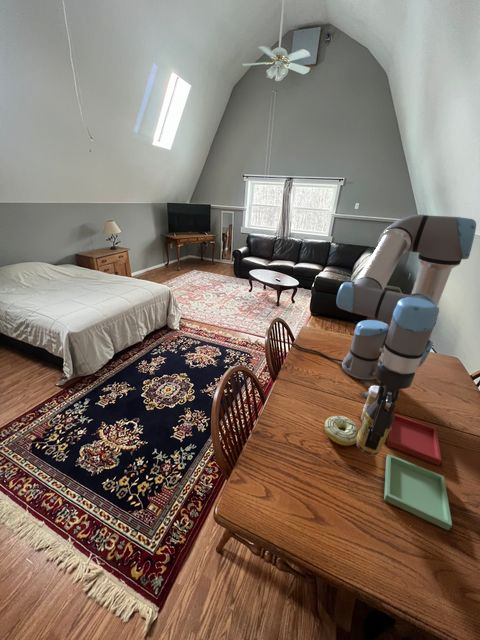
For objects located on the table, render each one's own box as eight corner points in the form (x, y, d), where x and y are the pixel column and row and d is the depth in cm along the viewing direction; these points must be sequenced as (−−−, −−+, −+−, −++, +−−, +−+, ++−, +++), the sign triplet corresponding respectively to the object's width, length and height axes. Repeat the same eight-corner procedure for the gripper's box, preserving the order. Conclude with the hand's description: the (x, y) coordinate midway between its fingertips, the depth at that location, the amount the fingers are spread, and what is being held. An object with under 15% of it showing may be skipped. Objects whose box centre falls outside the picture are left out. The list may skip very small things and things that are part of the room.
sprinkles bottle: (358, 420, 91) (368, 389, 85) (362, 413, 94) (372, 382, 89) (372, 428, 89) (383, 396, 83) (376, 420, 92) (387, 389, 86)
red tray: (386, 445, 83) (388, 440, 82) (388, 416, 94) (389, 412, 93) (439, 465, 77) (441, 460, 76) (434, 432, 88) (436, 428, 87)
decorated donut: (363, 434, 86) (366, 425, 84) (350, 455, 79) (353, 446, 77) (332, 416, 92) (335, 408, 91) (318, 434, 85) (320, 426, 83)
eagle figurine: (369, 381, 110) (354, 383, 105) (383, 374, 104) (368, 375, 100) (378, 399, 106) (363, 402, 101) (393, 393, 101) (378, 395, 96)
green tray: (383, 500, 67) (386, 495, 66) (386, 458, 78) (388, 453, 77) (448, 530, 62) (452, 525, 61) (441, 481, 73) (444, 476, 72)
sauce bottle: (350, 441, 74) (367, 384, 65) (366, 435, 76) (386, 379, 68) (368, 461, 69) (390, 402, 60) (386, 453, 71) (409, 395, 62)
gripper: (381, 342, 70) (360, 408, 80) (375, 383, 55) (351, 459, 65) (414, 350, 67) (388, 418, 77) (418, 396, 51) (385, 474, 62)
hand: (371, 437), depth 71 cm, fingers closed on sauce bottle, 6 cm apart
